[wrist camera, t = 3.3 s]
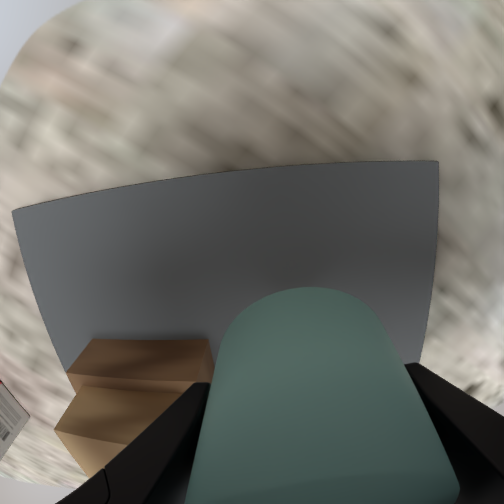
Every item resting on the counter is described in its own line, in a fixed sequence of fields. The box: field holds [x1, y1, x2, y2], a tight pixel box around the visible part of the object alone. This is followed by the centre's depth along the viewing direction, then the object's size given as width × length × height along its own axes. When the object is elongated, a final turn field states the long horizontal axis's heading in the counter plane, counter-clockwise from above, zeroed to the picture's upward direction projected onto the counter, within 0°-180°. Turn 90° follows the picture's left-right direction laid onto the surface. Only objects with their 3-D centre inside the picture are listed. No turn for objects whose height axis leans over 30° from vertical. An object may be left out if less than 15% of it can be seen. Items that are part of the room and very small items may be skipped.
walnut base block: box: [66, 339, 215, 394], centre depth 16 cm, size 7×7×3 cm
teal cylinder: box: [184, 287, 460, 504], centre depth 6 cm, size 5×5×5 cm
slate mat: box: [12, 161, 439, 387], centre depth 16 cm, size 22×16×1 cm
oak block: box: [54, 386, 182, 478], centre depth 13 cm, size 6×6×3 cm
